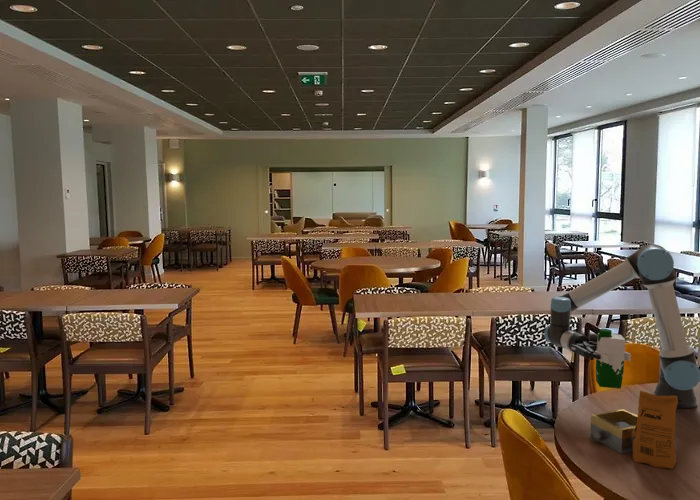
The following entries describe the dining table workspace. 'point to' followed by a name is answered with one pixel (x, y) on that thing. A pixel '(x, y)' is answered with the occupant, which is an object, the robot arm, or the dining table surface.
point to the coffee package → (655, 430)
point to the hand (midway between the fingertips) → (619, 358)
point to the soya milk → (610, 359)
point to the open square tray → (614, 429)
